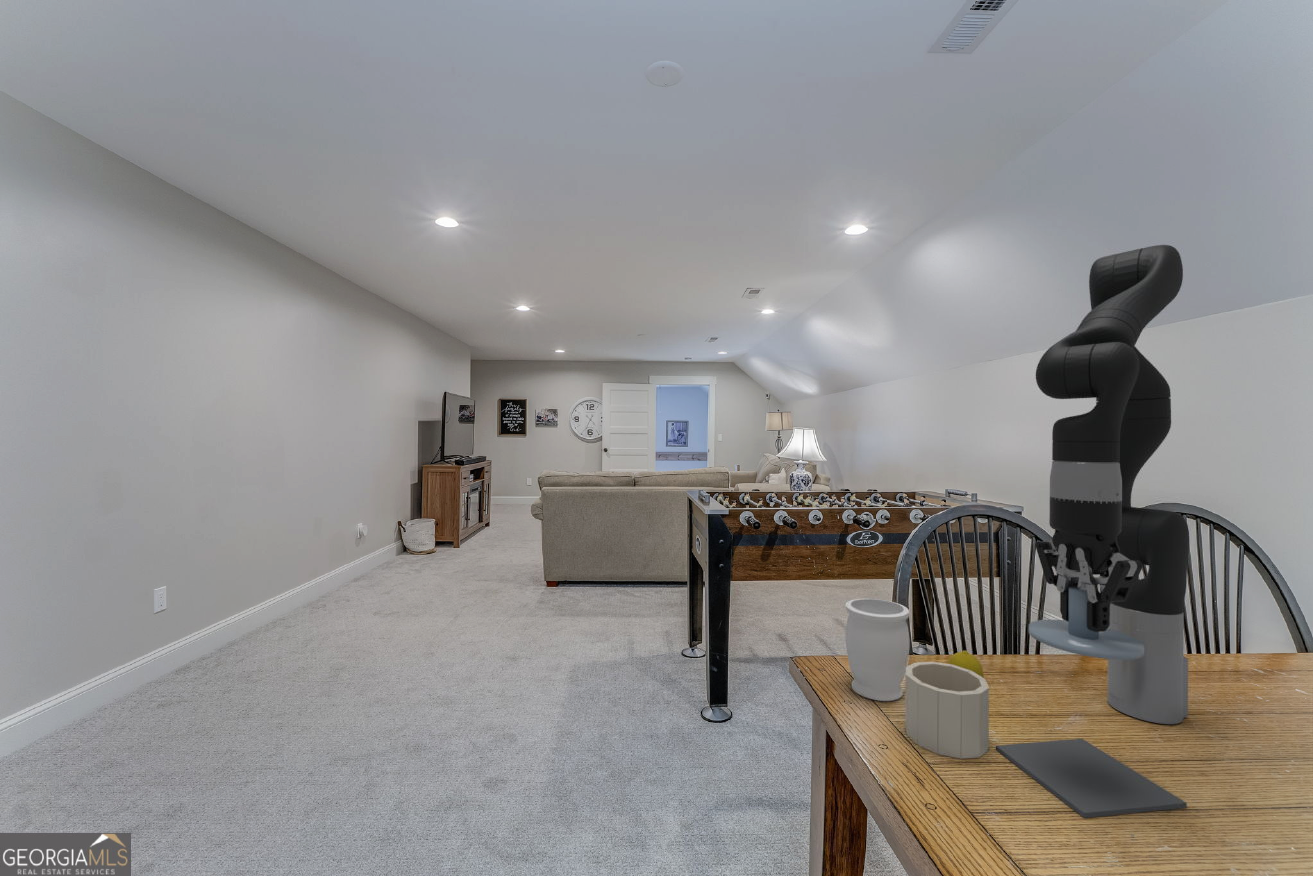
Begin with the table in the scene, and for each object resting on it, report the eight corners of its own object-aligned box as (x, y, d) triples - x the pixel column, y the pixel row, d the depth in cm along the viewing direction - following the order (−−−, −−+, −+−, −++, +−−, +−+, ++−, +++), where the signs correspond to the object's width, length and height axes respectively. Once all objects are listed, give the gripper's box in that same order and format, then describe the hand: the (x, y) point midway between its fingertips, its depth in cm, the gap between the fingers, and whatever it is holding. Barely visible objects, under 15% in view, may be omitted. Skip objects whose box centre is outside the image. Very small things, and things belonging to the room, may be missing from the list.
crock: (954, 715, 87) (954, 660, 87) (1005, 755, 77) (1005, 691, 76) (891, 720, 86) (891, 663, 86) (934, 761, 75) (935, 696, 75)
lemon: (989, 706, 90) (989, 658, 90) (952, 703, 91) (953, 656, 91) (976, 691, 96) (976, 645, 96) (942, 688, 97) (942, 643, 97)
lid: (1082, 623, 78) (1083, 576, 78) (1171, 657, 67) (1171, 602, 66) (1007, 626, 77) (1007, 579, 77) (1084, 662, 65) (1084, 605, 65)
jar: (876, 710, 89) (876, 619, 89) (832, 684, 98) (832, 601, 98) (923, 698, 93) (923, 611, 93) (876, 673, 103) (876, 595, 103)
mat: (1082, 742, 80) (1082, 738, 80) (1186, 807, 66) (1186, 802, 66) (995, 749, 78) (995, 745, 78) (1084, 818, 64) (1084, 813, 64)
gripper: (1165, 501, 65) (1164, 644, 65) (1063, 490, 79) (1062, 607, 79) (1110, 502, 64) (1109, 647, 64) (1017, 490, 78) (1016, 609, 78)
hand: (1083, 624), depth 72 cm, fingers closed on lid, 3 cm apart
